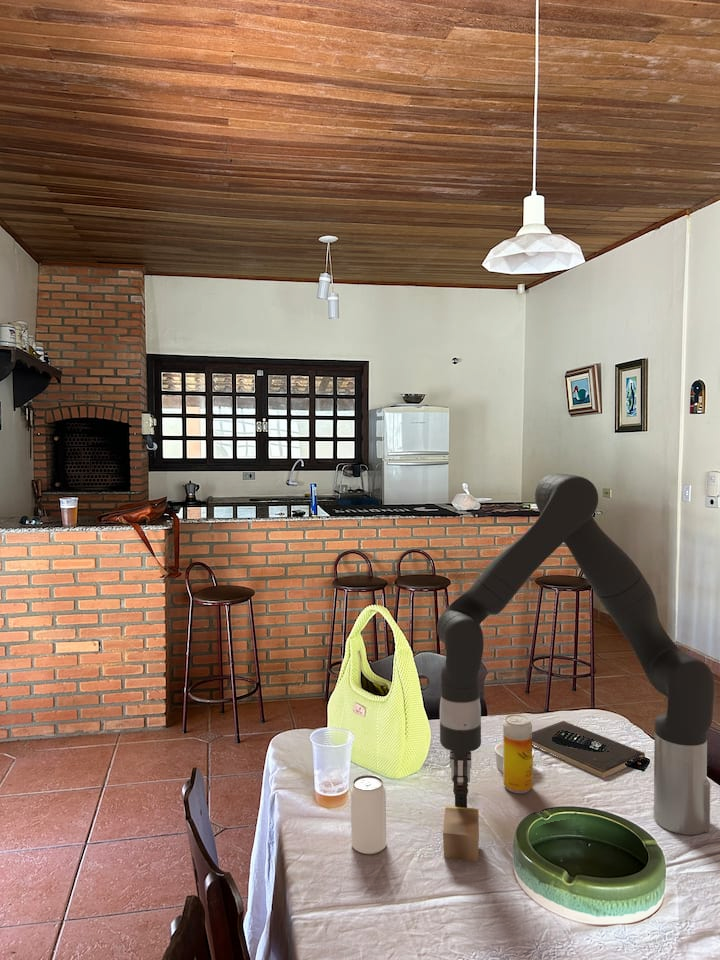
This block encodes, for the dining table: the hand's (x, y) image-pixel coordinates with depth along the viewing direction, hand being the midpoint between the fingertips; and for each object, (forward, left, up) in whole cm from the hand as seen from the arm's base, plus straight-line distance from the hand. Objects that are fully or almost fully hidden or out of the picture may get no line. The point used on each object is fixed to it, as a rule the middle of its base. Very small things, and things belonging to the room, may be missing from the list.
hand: (461, 809), depth 127 cm
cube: (0, +1, -2) cm, 2 cm away
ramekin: (-12, -31, -7) cm, 34 cm away
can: (+17, +3, -6) cm, 18 cm away
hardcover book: (-29, -42, -7) cm, 51 cm away
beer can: (-12, -22, -6) cm, 26 cm away
